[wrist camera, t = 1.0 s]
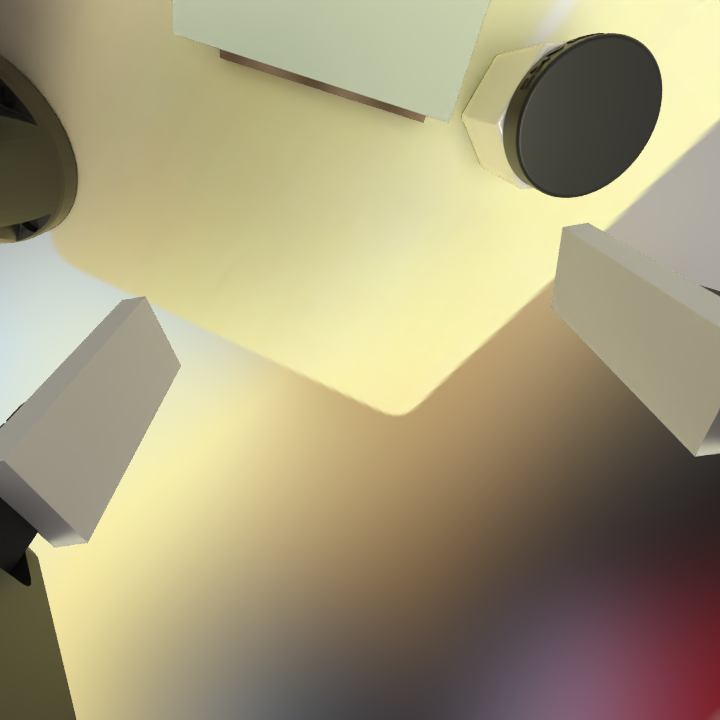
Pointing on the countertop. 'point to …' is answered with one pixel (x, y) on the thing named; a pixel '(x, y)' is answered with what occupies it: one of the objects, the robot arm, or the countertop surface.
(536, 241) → the countertop surface
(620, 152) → the jar
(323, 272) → the countertop surface
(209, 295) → the countertop surface
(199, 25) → the square plate with hole
